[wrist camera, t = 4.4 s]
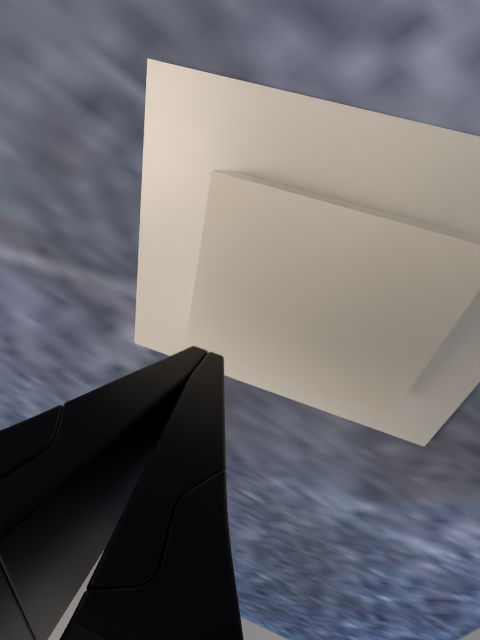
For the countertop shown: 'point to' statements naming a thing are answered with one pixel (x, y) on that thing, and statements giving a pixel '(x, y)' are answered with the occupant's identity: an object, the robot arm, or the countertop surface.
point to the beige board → (308, 174)
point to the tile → (326, 290)
